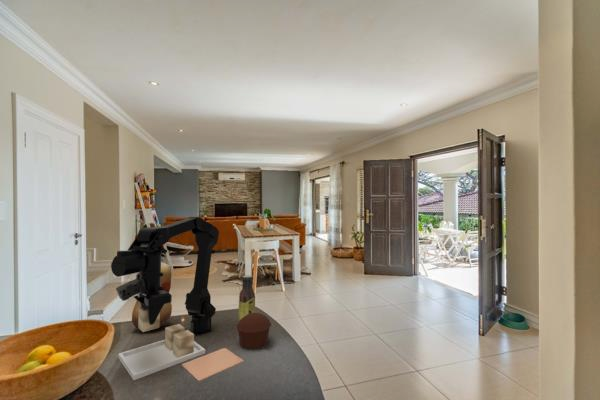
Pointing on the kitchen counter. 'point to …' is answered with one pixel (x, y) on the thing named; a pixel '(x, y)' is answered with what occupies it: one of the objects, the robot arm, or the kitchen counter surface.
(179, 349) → the plain box
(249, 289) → the sauce bottle
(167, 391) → the kitchen counter surface
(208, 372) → the terracotta tile
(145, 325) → the labelled box
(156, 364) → the white shallow tray
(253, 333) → the muffin
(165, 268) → the butternut squash
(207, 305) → the robot arm
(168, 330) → the plain box
